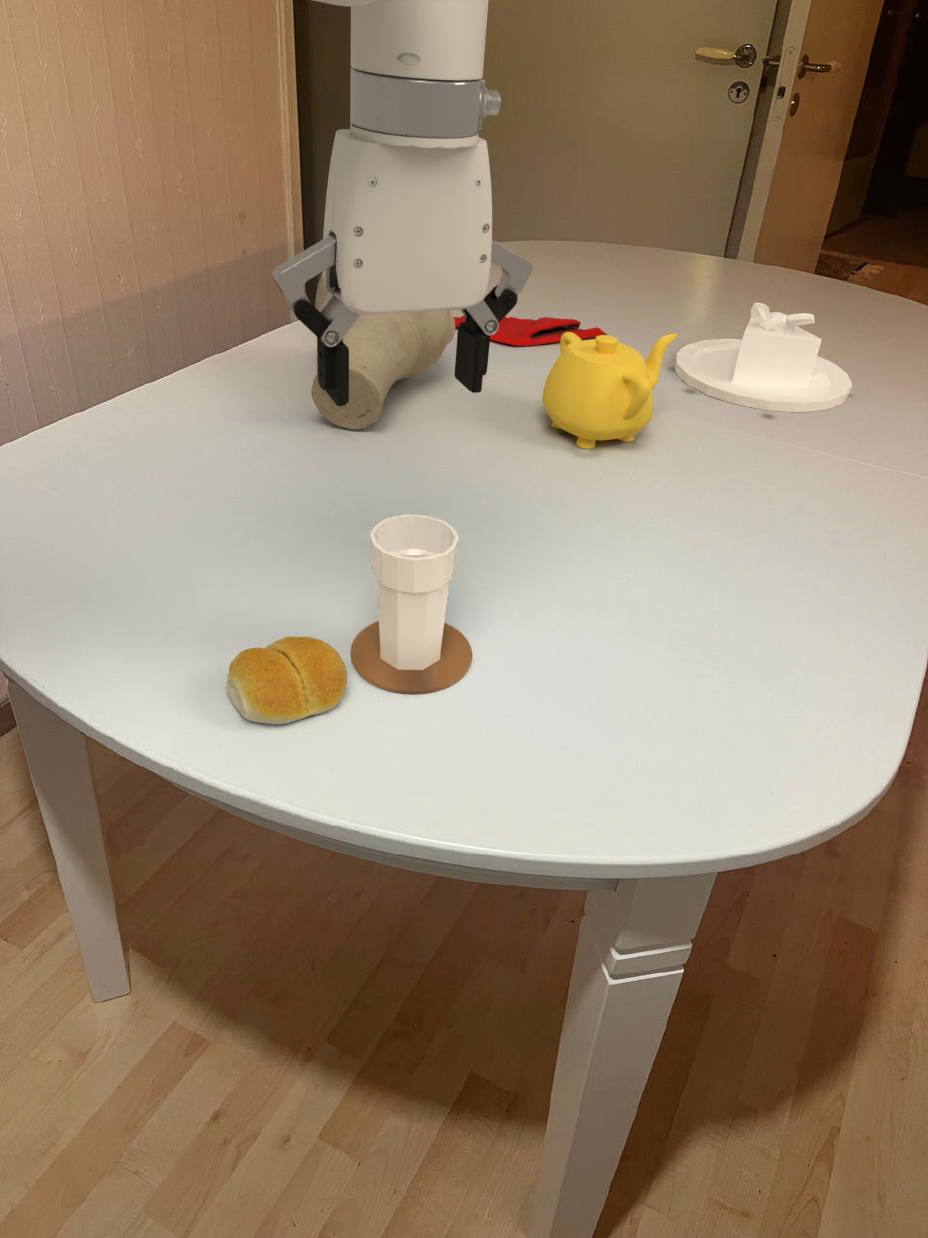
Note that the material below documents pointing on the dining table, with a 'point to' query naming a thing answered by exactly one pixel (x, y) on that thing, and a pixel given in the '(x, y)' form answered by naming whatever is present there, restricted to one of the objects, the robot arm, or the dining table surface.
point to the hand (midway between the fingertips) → (403, 391)
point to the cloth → (536, 330)
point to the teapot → (602, 388)
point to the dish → (766, 366)
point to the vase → (382, 359)
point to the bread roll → (286, 680)
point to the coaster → (411, 681)
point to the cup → (412, 587)
